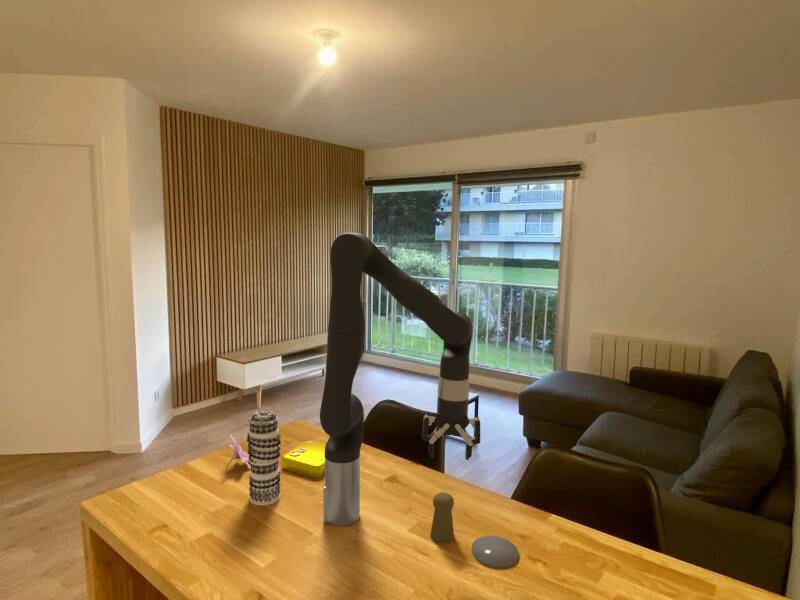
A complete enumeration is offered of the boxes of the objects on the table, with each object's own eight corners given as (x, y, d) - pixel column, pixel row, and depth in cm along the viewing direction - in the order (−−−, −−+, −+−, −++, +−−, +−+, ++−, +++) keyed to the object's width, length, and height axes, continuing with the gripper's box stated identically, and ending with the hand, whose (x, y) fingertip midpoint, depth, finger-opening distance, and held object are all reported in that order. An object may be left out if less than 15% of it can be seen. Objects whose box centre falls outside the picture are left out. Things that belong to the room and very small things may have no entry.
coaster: (475, 567, 109) (475, 565, 109) (468, 537, 120) (468, 535, 119) (523, 568, 109) (523, 566, 109) (512, 538, 120) (512, 536, 120)
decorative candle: (241, 502, 134) (238, 416, 130) (262, 486, 142) (260, 405, 139) (268, 509, 130) (266, 421, 127) (288, 493, 139) (287, 410, 135)
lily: (238, 482, 146) (253, 453, 147) (206, 464, 148) (221, 435, 149) (252, 475, 158) (266, 448, 159) (222, 459, 159) (236, 432, 161)
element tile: (318, 480, 147) (318, 465, 147) (279, 469, 154) (279, 455, 153) (344, 460, 161) (344, 446, 160) (307, 450, 167) (307, 437, 166)
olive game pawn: (453, 545, 116) (454, 503, 115) (428, 542, 118) (429, 500, 116) (455, 530, 122) (456, 490, 121) (431, 527, 123) (433, 487, 122)
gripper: (424, 398, 113) (421, 462, 115) (484, 401, 112) (480, 466, 114) (423, 388, 120) (421, 449, 123) (480, 391, 120) (476, 452, 122)
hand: (449, 457), depth 118 cm, fingers open, 8 cm apart
